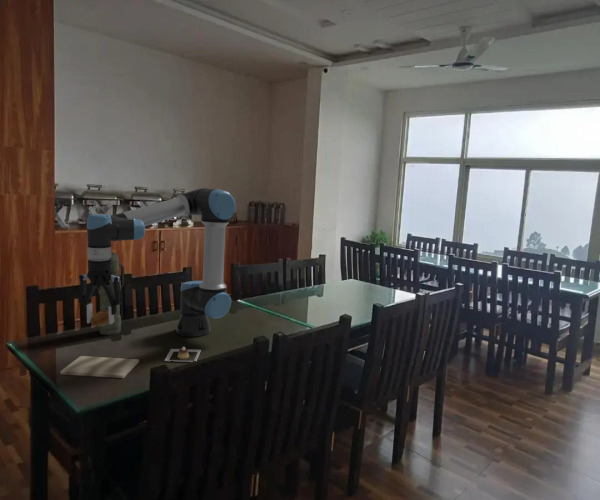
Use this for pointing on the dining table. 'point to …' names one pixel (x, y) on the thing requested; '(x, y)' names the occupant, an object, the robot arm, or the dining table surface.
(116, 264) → the thermos
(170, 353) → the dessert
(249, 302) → the dining table surface
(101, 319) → the pastry
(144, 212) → the robot arm
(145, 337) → the dining table surface
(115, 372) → the serving board
